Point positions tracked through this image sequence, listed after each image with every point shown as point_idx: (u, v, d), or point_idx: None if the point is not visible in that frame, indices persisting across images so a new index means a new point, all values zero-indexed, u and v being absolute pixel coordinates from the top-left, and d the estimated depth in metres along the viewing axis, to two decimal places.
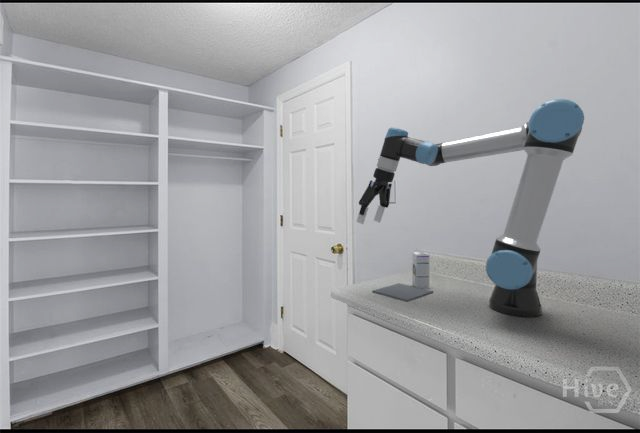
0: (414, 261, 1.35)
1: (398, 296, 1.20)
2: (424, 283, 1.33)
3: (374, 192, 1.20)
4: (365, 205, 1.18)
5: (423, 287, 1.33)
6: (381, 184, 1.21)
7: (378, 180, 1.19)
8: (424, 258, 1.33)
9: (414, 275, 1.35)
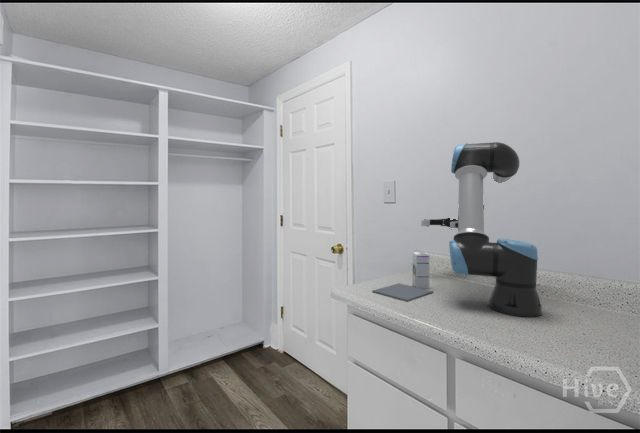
0: (414, 261, 1.35)
1: (398, 296, 1.20)
2: (424, 283, 1.33)
3: None
4: None
5: (423, 287, 1.33)
6: None
7: None
8: (424, 258, 1.33)
9: (414, 275, 1.35)
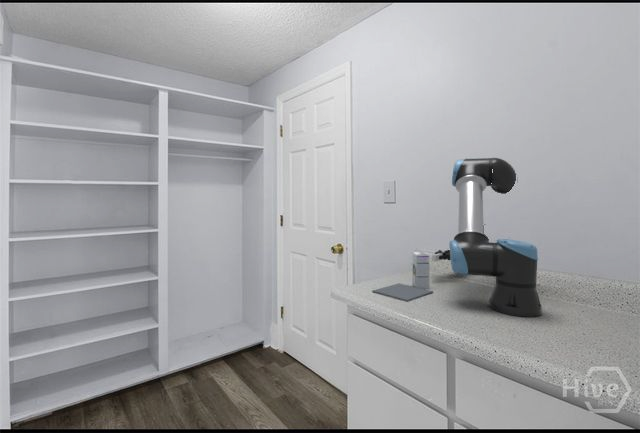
0: (414, 261, 1.35)
1: (398, 296, 1.20)
2: (424, 283, 1.33)
3: None
4: (438, 253, 1.49)
5: (423, 287, 1.33)
6: None
7: None
8: (424, 258, 1.33)
9: (414, 275, 1.35)
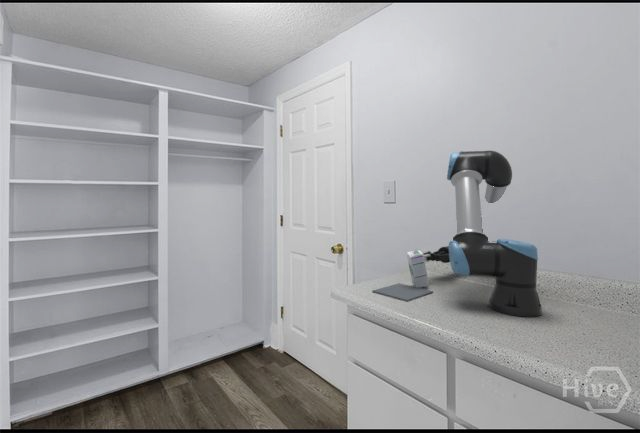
0: (409, 262, 1.33)
1: (398, 296, 1.20)
2: (423, 282, 1.33)
3: None
4: (426, 254, 1.43)
5: (423, 285, 1.33)
6: None
7: None
8: (418, 258, 1.31)
9: (412, 275, 1.34)
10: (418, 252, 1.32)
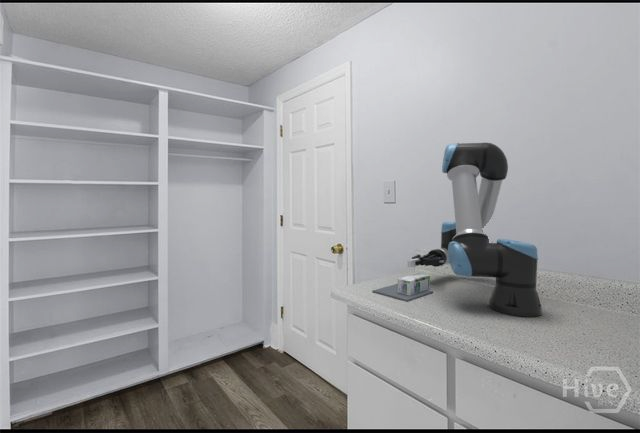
0: None
1: (398, 296, 1.20)
2: None
3: None
4: (415, 258, 1.36)
5: None
6: None
7: None
8: None
9: None
10: (406, 288, 1.22)
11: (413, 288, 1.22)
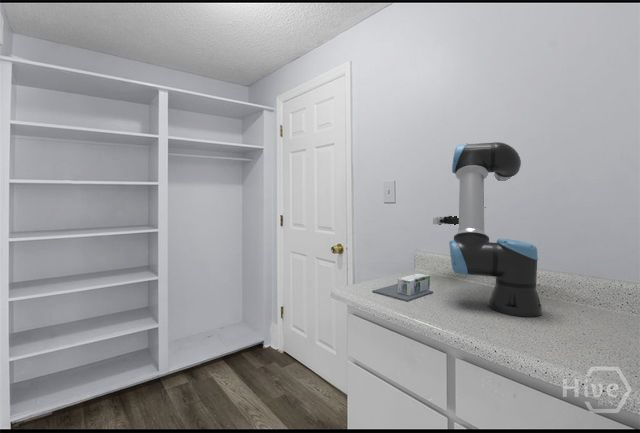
0: None
1: (398, 296, 1.20)
2: None
3: None
4: None
5: None
6: None
7: None
8: None
9: None
10: (406, 288, 1.22)
11: (413, 288, 1.22)
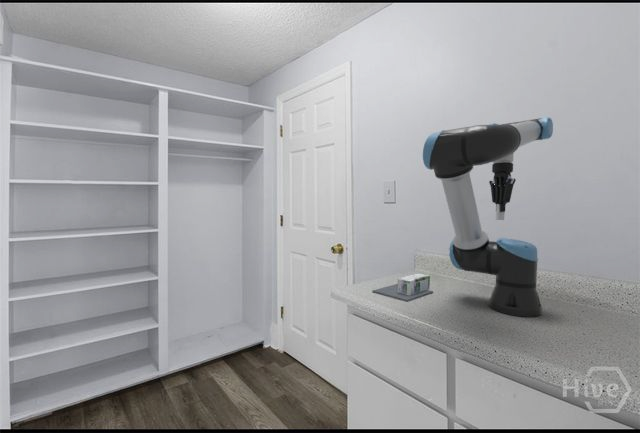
0: None
1: (398, 296, 1.20)
2: None
3: None
4: None
5: None
6: (496, 174, 1.35)
7: None
8: None
9: None
10: (406, 288, 1.22)
11: (413, 288, 1.22)
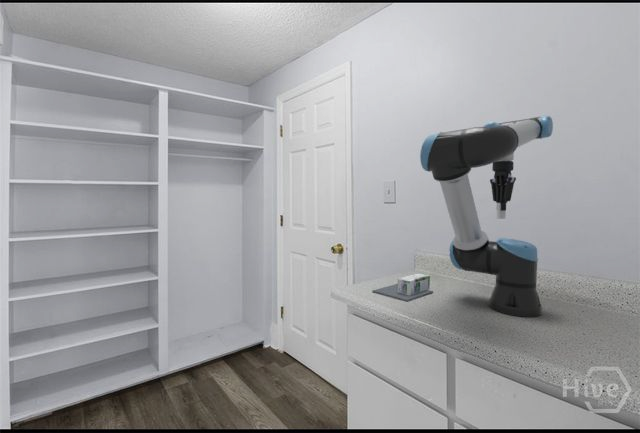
0: None
1: (398, 296, 1.20)
2: None
3: None
4: None
5: None
6: (496, 173, 1.34)
7: None
8: None
9: None
10: (406, 288, 1.22)
11: (413, 288, 1.22)
